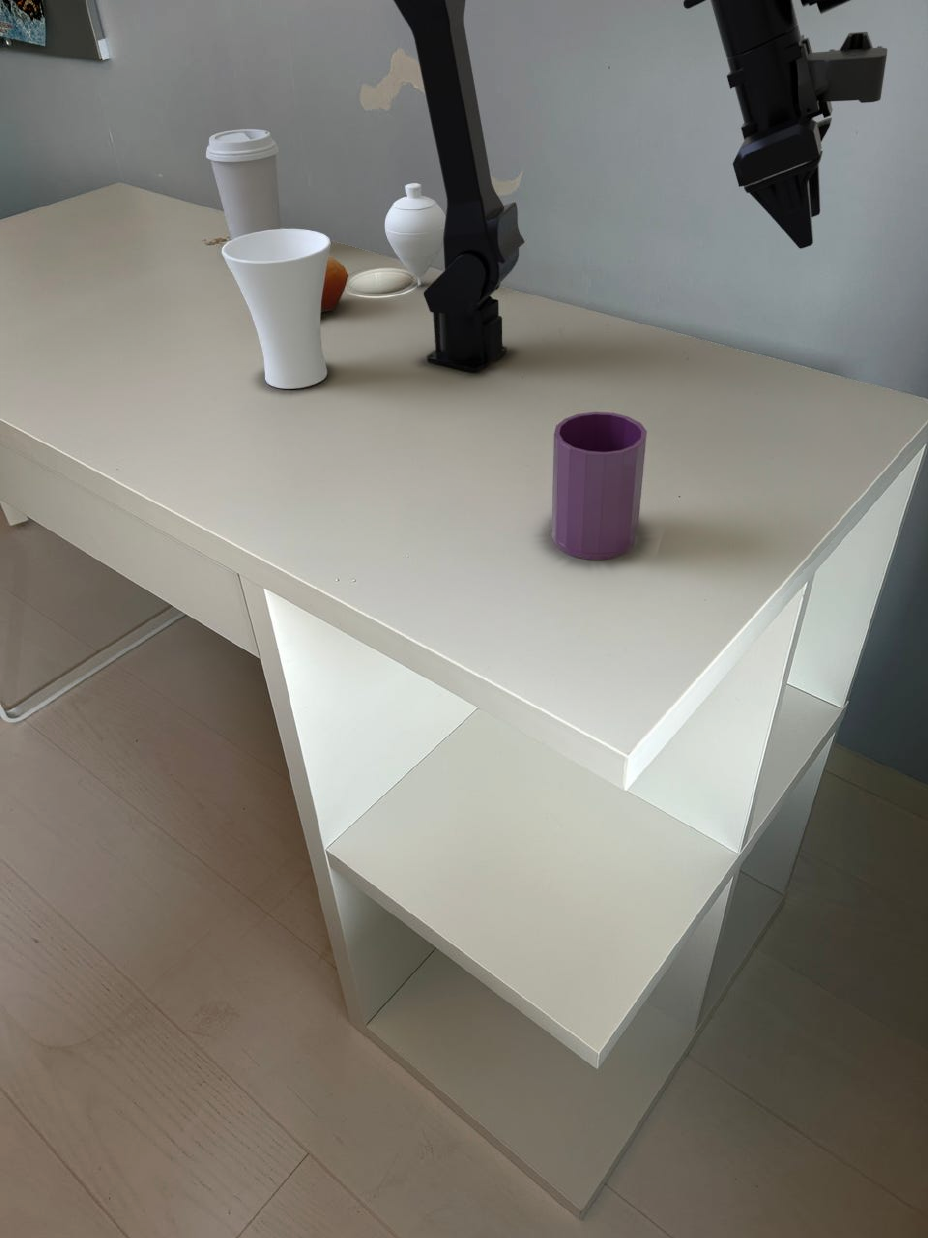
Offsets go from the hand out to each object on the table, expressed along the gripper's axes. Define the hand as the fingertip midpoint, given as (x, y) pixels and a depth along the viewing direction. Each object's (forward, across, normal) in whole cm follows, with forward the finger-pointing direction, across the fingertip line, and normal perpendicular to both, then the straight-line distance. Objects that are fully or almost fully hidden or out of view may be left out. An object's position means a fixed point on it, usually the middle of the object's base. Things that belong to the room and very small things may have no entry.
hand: (810, 230), depth 84 cm
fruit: (-8, +9, +57) cm, 58 cm away
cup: (-6, -10, +50) cm, 52 cm away
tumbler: (+9, -30, +17) cm, 36 cm away
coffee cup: (-16, +27, +73) cm, 80 cm away
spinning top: (-5, +20, +49) cm, 53 cm away
